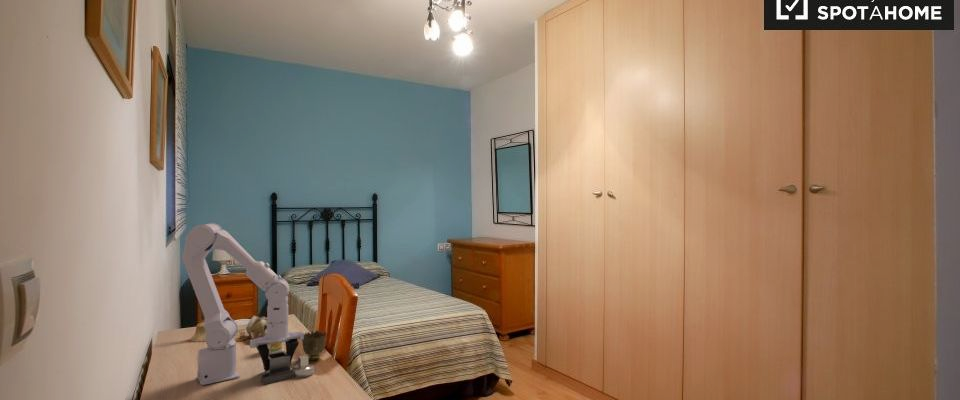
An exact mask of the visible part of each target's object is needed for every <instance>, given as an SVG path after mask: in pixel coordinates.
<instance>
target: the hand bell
mask: <svg viewBox="0 0 960 400" xmlns="http://www.w3.org/2000/svg"><path fill="white" fill-rule="evenodd" d="M199 310H200V313H201V315H200V322H199V323H197V324H196V328H195V332H194V334H193V336H191V337H190V339H189V340H190V342H193V343H194V342H195V343H204V342H205V335H206V331H205V328H204V321H205V317H204V314H203V312H202V309H201V307H200V304H199Z"/></svg>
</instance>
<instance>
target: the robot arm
mask: <svg viewBox="0 0 960 400" xmlns="http://www.w3.org/2000/svg"><path fill="white" fill-rule="evenodd" d="M212 249H214V250H220V251H224V252H226V253H227V255H230V256H231V258H233V259H234V260H236V261H237V263H239V264H240V265H241V266H242V267H244V269H246V275H245V276H246V277H247V278H249V280H251V282H253V283H254V284H255V285H256V286H257V287H258V288H259V289H261V291H263V292H265V293H264V295H265V297H266V299H267V306H266V307H267V308H266V313H267V316H266V317H267V318H266V319H267V336H265V337H261V338H257V339H253V340H252V339H249V347H250V349H257V351H258V353H259V356H260V358H261V361H262V365H263V371H264V372H265V371H268V356H269V354H270V353H269V349H268V346H267V345H269V344H275V343H280V342H282V343H285V352H286V353H287V354H289V355H290V367H291V365H292V361H293V357H294V354H295V352H296V350H297V348H298V346H299V344H300V342H299V340H302V339H304V335H305V333H304V331H301V330H300V331H295V332H289V304H288V303H289V297H288V295H289V293H290V284H289V283H288V281H287V280H286V279H284V278H282V276H281V275H280V274H279V275H278V274H276V273H275V272H274V270H273V269H271V268H270V264H269V263H268V262H266V263H265V262H264V261H262V260H260V261H259V260H255V259H254V257H252V256H251V254H250V253H248V251H247V250H246V249H245V248H244V247H243V246H241V244H240V243H238V241H237V240H236V239H235V238H234V237H233V236H232V235H231V234H230V233H229V232H228V231H226V229H223V228H222V227H221V225H219V224H217V223H215V222H209V223H205V224H197V225H195V226H193V227H192V228H191V229H190V230H189V232H188V233H187V234H186V236H185V245H184V249H183V253H182V262H183V265H184V268H185V270H186V273H187V276H188V278H189V280H190V283H191V285H192V289H193V291H194V294H195V296H196V298H197V301H198V303H199V304H200V306H199V308H200V307H201V309H202V312H203V314H204V317H205V321H204V328H205V331H206V335H205V341H204V342H205V344H206V347H204V348H201V349H198V352H197V372H196V373H197V380H198V381H199V383H200V385H201V386H205V385H209V384H214V383H219V382H222V381H228V380H233V379H238V378H240V376H241V375H240V374H239V372H238V371H237V341H236V340H235V336H236V335H237V334H238V331H239V327H238V323H237V322H236V321H235V320H234V319H232V318H231V315H230V313H229V312H228V311H227V310H226V309H225V307H224V305H223V302H222V300H221V296H220V293H219V292H218V289H217V286H216V284H215V280H214V279H213V276H212V273H211V271H210V269H209V265H208V262H207V260H206V258H207V256H208V254H209V253H210V251H211V250H212Z"/></svg>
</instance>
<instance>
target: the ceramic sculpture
mask: <svg viewBox="0 0 960 400" xmlns="http://www.w3.org/2000/svg"><path fill="white" fill-rule="evenodd" d="M266 329H267V318H266V317H265V316H264V315H259V316H258V315H257V316H256V315H254V314H253V316H252V317H251V318H250V320H248V322H247V325H246V327H245V331H246V333H247V335H248V334H249V336H250V338H251V339H250V340H253V339H257V338H261V337H265V330H266Z"/></svg>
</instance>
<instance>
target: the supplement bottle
mask: <svg viewBox="0 0 960 400" xmlns="http://www.w3.org/2000/svg"><path fill="white" fill-rule="evenodd" d="M265 336H267V329H266V330H265ZM267 346H268V349H269V354H271V353H277V352H282V350H283V342H280V343H275V344H269V345H267Z"/></svg>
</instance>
